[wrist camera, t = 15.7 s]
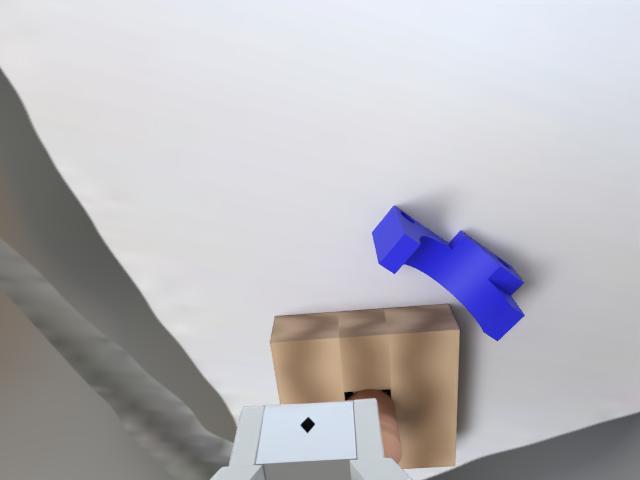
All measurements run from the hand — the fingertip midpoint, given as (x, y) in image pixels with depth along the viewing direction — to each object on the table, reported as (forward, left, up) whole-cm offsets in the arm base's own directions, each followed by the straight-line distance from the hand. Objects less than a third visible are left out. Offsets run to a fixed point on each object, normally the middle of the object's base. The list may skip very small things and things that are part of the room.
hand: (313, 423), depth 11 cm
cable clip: (-9, +10, -30) cm, 33 cm away
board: (-2, +24, -29) cm, 38 cm away
